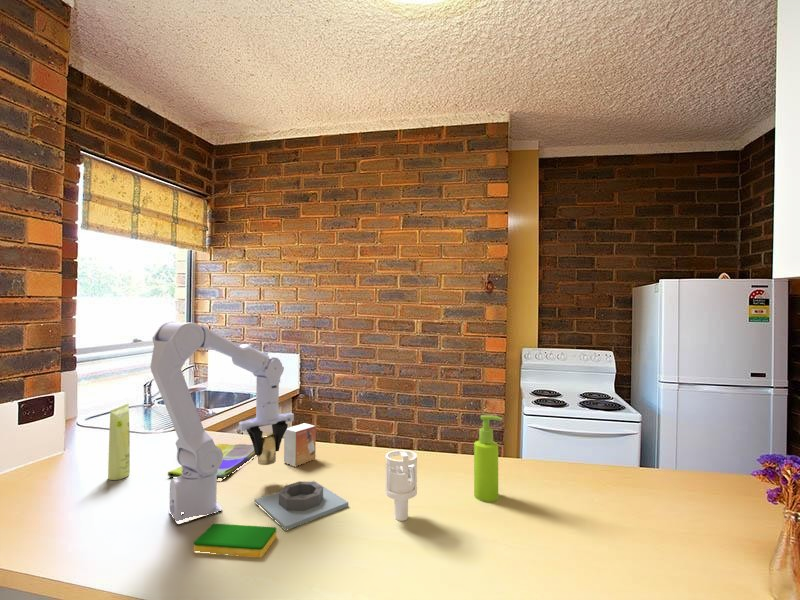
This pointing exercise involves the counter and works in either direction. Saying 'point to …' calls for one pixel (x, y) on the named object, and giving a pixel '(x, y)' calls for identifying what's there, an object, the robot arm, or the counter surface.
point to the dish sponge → (236, 540)
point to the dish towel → (227, 459)
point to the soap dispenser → (486, 462)
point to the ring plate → (301, 515)
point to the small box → (299, 444)
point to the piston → (267, 449)
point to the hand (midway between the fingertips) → (267, 452)
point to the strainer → (401, 481)
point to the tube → (119, 443)
